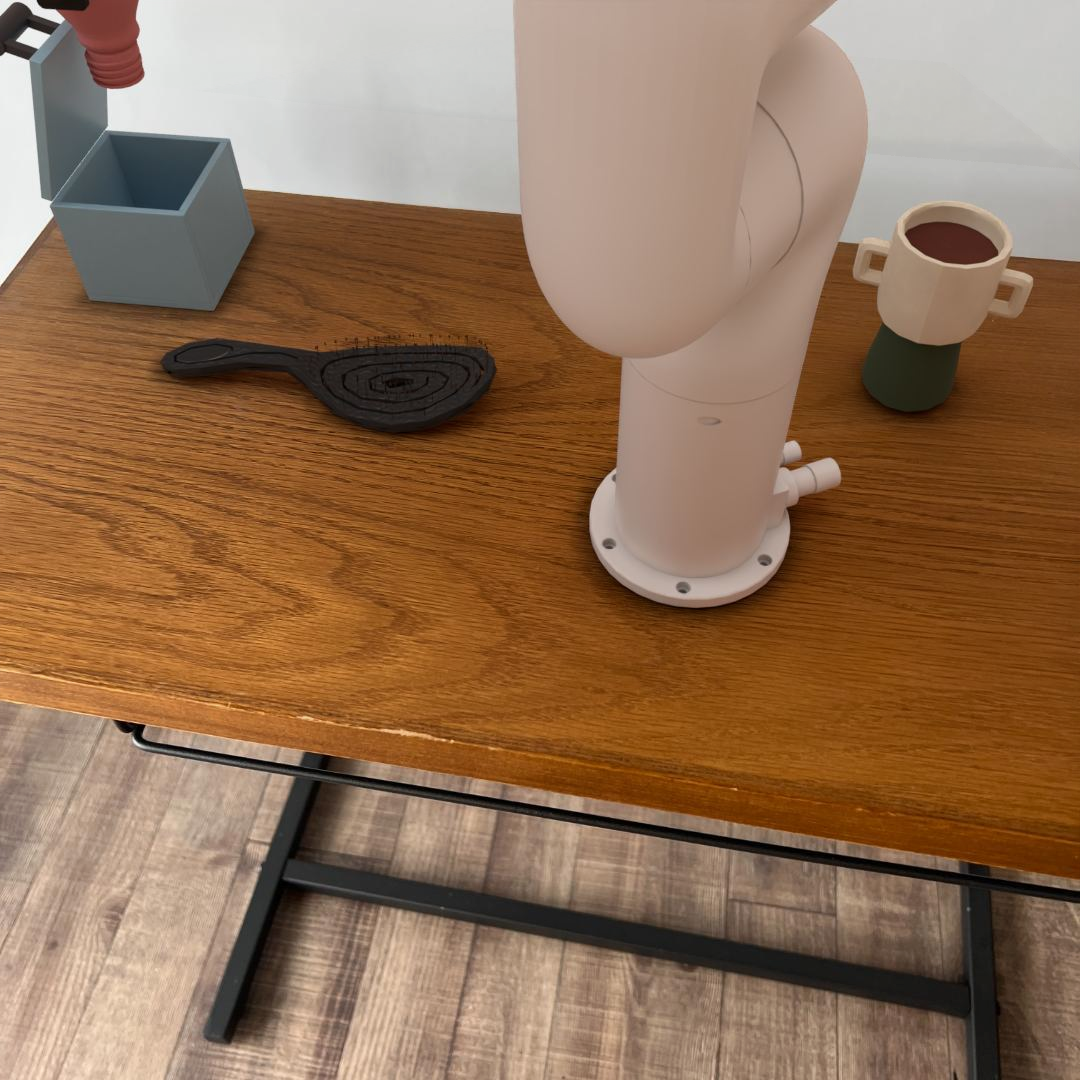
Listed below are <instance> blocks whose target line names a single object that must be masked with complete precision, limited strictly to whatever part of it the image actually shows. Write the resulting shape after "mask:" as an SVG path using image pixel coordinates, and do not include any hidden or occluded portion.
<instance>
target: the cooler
mask: <svg viewBox="0 0 1080 1080" xmlns="http://www.w3.org/2000/svg"><path fill="white" fill-rule="evenodd" d="M231 141H232V140H231V138H226V137H214V136H198V135H186V134H185V135H183V134H169V133H168V134H167V133H156V132H155V133H153V132H137V131H124V130H123V131H122V130H110V129H109V130H108V129H105V131H104V132H103V133H102V135H101V136H100V137H99V139H98V140H97V142H96V143H95V144H94V146H93V147H92V148H91V150H90V151H89V152H88V154H87V155H86V156H85V158H84V159H83V160H82V162H81V163H80V164H79V166H78V167H77V169H76V170H75V171H74V173H73V174H72V175H71V177H70V178H69V179H68V181H67V182H66V183H65V185H64V186H63V187H62V189H61V190H60V191H59V193H58V194H57V195H56V197H55V198H54V200H53V201H51V203H50V204H49V208H50V211H51V214H52V215H53V218H54V220H55V223H56V225H57V228H58V229H59V231H60V234H61V236H62V238H63V241H64V243H65V245H66V248H67V250H68V253H69V255H70V257H71V259H72V262H73V264H74V267H75V269H76V271H77V273H78V276H79V278H80V280H81V282H82V285H83V287H84V290H85V292H86V294H87V296H88V299H89V301H91V302H92V301H93V302H104V303H115V304H127V305H136V306H137V305H138V306H139V305H140V306H150V307H151V306H152V307H160V308H161V307H163V308H172V309H184V310H185V309H186V310H197V311H206V312H207V311H209V312H214V311H215V309H216V308H217V306H218V304H219V302H220V300H221V298H222V296H223V294H224V293H225V291H226V289H227V287H228V285H229V283H230V281H231V279H232V277H233V275H234V274H235V272H236V269H237V267H238V266H239V264H240V262H241V261H242V258H243V256H244V254H245V252H246V251H247V248H249V245H250V243H251V242H252V239H253V237H254V236H255V234H256V232H255V229H254V224H253V221H252V217H251V213H250V210H249V209H250V208H249V206H248V202H247V197H246V194H245V190H244V186H243V183H242V178H241V175H240V171H239V167H238V164H237V160H236V156H235V152H234V149H233V148H234V147H233V145H232V142H231Z"/></svg>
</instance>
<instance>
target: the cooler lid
mask: <svg viewBox="0 0 1080 1080" xmlns="http://www.w3.org/2000/svg"><path fill="white" fill-rule="evenodd" d="M27 29H32V30H35V31H38V32H40V33H42V34H46V35H48V36H49V37H48V38H47V39H45V41H44V42H43V43H42V44H41V45H40V46H39V48H37V47H35V46H31V45H29V44H25V43H23V42H20V41H17V40H19V39H20V37H21V36H22V35H23V34H24V33H25V32H26V31H27ZM85 51H86V48H85V47H84V46H83V45H82V44H81V43H80V42H79V40H78V37H77V32H76V30H75V29H74V28H73V26H72V25H71V24H70V23H69V22H68V21H67V20H66V19H63V21H62V22H61V23H59V22H56V21H54V20H51V19H48V18H45V17H43V16H40V15H36V14H34V13H33V10H31V8H30V7H29V6H28V5H27V4H25V3H23V2H21V1H14V2H12V3H11V4H10V5H9V6H8V7H7V8H6V9H5V10H4V12H2V14H1V15H0V57H2V56H3V55H5V53H7V54H9V55H11V56H15V57H17V58H20V59H23V60H25V61H28V63H29V73H30V85H31V95H32V96H31V97H32V107H33V108H32V109H33V119H34V129H35V130H34V131H35V143H36V154H37V164H38V165H37V166H38V175H39V188H40V198H41V199H43V200H46V201H49V202H53V200H54V199H55V197H56V196H57V195H58V193H59V192H60V191H61V189H62V188H63V186H64V185H65V184H66V182H67V181H68V180H69V178H70V177H71V176H72V174H73V173H74V172H75V170H76V169H77V168H78V166H79V165H80V164H81V162H82V161H83V159H84V158H85V157H86V155H87V154H88V153H89V151H90V150H91V149H92V147H93V146H94V145H95V143H96V142H97V141H98V139H99V138H100V137H101V135H102V134H103V133H104V131H105V130H107V129H108V127H109V113H108V88H103V87H101V86H99V85H97V84H96V83H95V82H94V80H93V76H92V75H91V73H90V69H89V67H88V66H87V60H86V59H85V56H84V54H85Z"/></svg>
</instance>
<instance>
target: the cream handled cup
mask: <svg viewBox="0 0 1080 1080" xmlns="http://www.w3.org/2000/svg"><path fill="white" fill-rule="evenodd" d="M1013 244H1014V243H1013V235H1012V232H1011V231H1010V229H1009V228H1008V227H1007V225H1006V223H1004V221H1003V220H1002V219H1001V218H999V217H997V216H996V215H995V214H994V213H992V212H990V211H989V210H987V209H985V208H982V207H980V206H977V205H975V204H971V203H968V202H964V201H958V200H942V199H941V200H933V201H928V202H921V203H919V204H917V205H915V206H912V207H911V208H908V209H906V210H905V212H904V213H903V214H901V216H900V218H899V219H897V222H896V225H895V227H894V229H893V233H892V237H891V241H890V240H886V239H881V238H877V237H873V236H871V237H864V238H862V239H861V240H860V242H859V243H858V248H857V252H856V255H855V259H854V263H853V267H852V276H853V279H854V280H856V281H858V282H860V283H862V284H863V283H864V284H867V285H871V286H874V287H875V286H876V287H878V288H877V295H876V297H877V298H876V306H877V312H878V314H879V316H880V318H881V320H882V323H881V324H880V327H879V329H878V330H877V332H876V335H875V337H874V339H873V341H872V343H871V345H870V347H869V348H868V351H867V353H866V356H865V359H864V361H863V363H862V365H861V381H862V383H863V385H864V387H865V388H866V390H867V391H868V393H869V395H870V396H872V397H873V398H874V399H876V400H877V401H878V402H879V403H881V404H882V405H884V406H885V407H887V408H891V409H895V410H898V411H901V412H905V413H907V412H919V411H928V410H930V409H932V408H934V407H937V406H938V405H940V404H942V403H944V402H945V401H946V399H947V398H948V396H949V395H950V394H951V392H952V391H953V389H954V388H953V387H954V383H955V379H956V375H957V370H958V363H959V359H960V354H961V348H962V342H963V341H964V340H966V339H968V338H970V337H972V336H973V335H974V334H975V333H976V332H977V331H978V329H979V328H980V327H981V326H982V324H983V323H984V321H985V319H986V318H987V316H988V314H990V315H994V316H997V317H1002V318H1007V319H1015V318H1018V317H1019V315H1020V314H1021V313H1022V312H1023V310H1024V308H1025V305H1026V304H1027V301H1028V299H1029V296H1030V294H1031V292H1032V289H1033V287H1034V277H1032V276H1031V275H1030V274H1028V273H1026V272H1023V271H1019V270H1014V269H1010V268H1007V265H1008V262H1009V260H1010V258H1011V255H1012V252H1013V248H1014V245H1013ZM873 255H877V256H882V257H886V258H885V262H884V265H883V269H882V270H878V269H873V268H870V264H871V261H872V258H873ZM1000 285H1004V286H1008V287H1013V290H1012V293H1011V295H1010V298H1009V301H1006V300H1002V299H999V298H995V296H996V294H997V291H998V289H999V286H1000Z"/></svg>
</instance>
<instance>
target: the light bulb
mask: <svg viewBox="0 0 1080 1080" xmlns="http://www.w3.org/2000/svg"><path fill="white" fill-rule="evenodd" d="M139 1H140V0H89V6H88V7H87V8H86V9H85V10H84V11H72V10H55V11H56V12H57V13H58V14H59V15H60V16H61V17H62V18H63V20H65V19H66V20H67V21H68V22H69V23H70V24H71V25H72V26H73V28H74V29H75V30H76V32H77V37H78V40H79V42H80V43H81V44H82V45H83V46H84V47H85V48H86V51H85V54H84V56H85V59H86V60H87V66H88V67H89V69H90V73H91V75H92V76H93V80H94V82H95V83H96V84H97V85H99V86H101V87H103V88H107V90H121V89H127V88H130V87H133V86H135V85H138V83H140V82H141V81H143V79H144V78H145V75H146V74H145V73H146V71H145V70H144V69H145V68H144V65H143V58H142V53H141V50H140V47H139V44H138V38H139V36H140V32H141V28H140V25H139V22H138V21H137V12H138V6H139Z"/></svg>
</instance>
